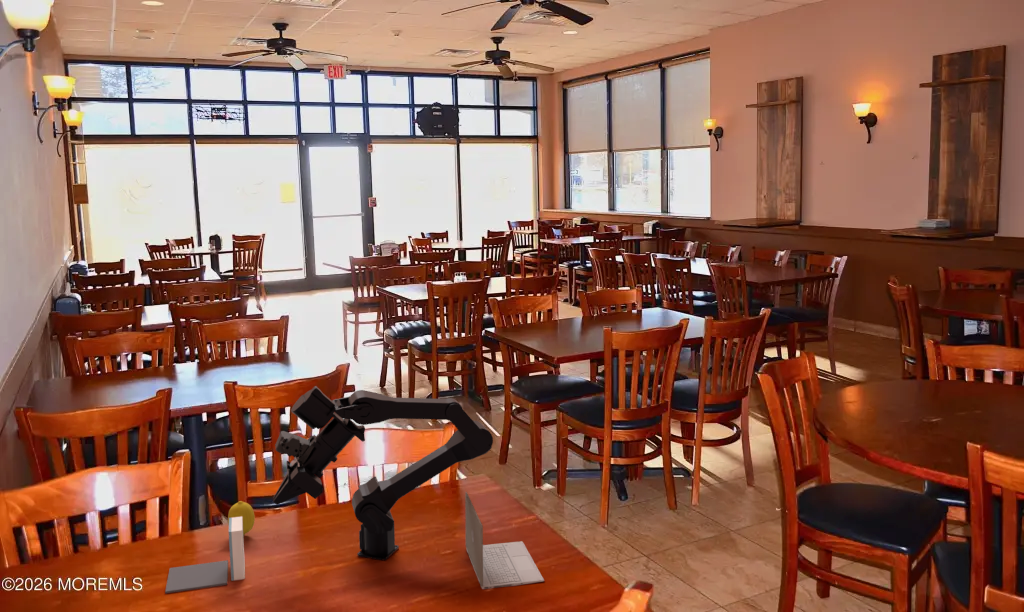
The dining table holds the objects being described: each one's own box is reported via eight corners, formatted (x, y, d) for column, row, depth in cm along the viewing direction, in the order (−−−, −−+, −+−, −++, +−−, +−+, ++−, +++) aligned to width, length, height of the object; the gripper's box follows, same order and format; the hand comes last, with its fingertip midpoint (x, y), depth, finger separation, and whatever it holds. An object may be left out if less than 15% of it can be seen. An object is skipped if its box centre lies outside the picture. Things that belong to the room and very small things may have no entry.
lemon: (260, 532, 181) (258, 498, 180) (244, 543, 176) (242, 507, 175) (239, 529, 183) (237, 495, 182) (223, 539, 178) (221, 504, 176)
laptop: (544, 584, 159) (545, 519, 157) (481, 591, 156) (480, 525, 154) (522, 544, 176) (522, 486, 174) (465, 550, 173) (464, 491, 171)
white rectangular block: (244, 563, 167) (242, 516, 165) (244, 578, 160) (242, 530, 159) (231, 564, 166) (229, 518, 164) (231, 580, 159) (228, 531, 158)
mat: (228, 562, 167) (228, 560, 167) (227, 584, 158) (227, 582, 158) (169, 569, 164) (169, 568, 164) (165, 593, 154) (165, 591, 154)
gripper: (296, 406, 171) (243, 462, 169) (302, 431, 154) (243, 494, 152) (335, 438, 175) (284, 494, 173) (346, 467, 157) (288, 529, 155)
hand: (274, 501), depth 163 cm, fingers closed
